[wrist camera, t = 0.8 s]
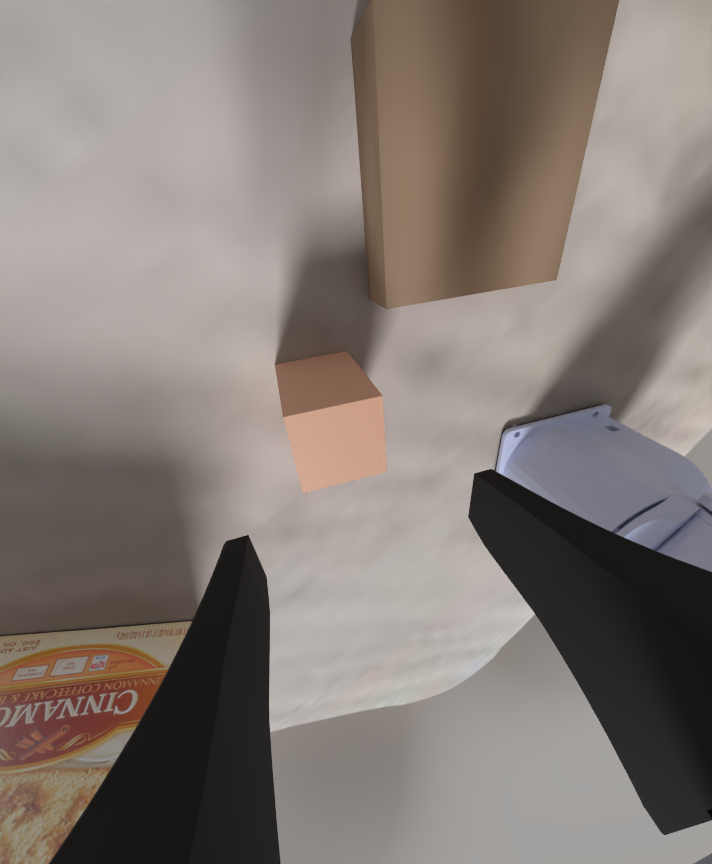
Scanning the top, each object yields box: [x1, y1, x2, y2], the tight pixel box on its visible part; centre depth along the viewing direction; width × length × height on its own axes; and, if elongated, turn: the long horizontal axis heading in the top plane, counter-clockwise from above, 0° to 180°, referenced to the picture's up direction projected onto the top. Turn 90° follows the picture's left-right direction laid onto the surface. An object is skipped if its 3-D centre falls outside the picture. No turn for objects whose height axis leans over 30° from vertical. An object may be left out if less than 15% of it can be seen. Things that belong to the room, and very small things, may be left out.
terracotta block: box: [275, 351, 387, 493], centre depth 16 cm, size 4×4×6 cm
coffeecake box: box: [0, 621, 192, 864], centre depth 17 cm, size 15×7×20 cm, turn 72°
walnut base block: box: [351, 0, 619, 309], centre depth 14 cm, size 9×9×3 cm
